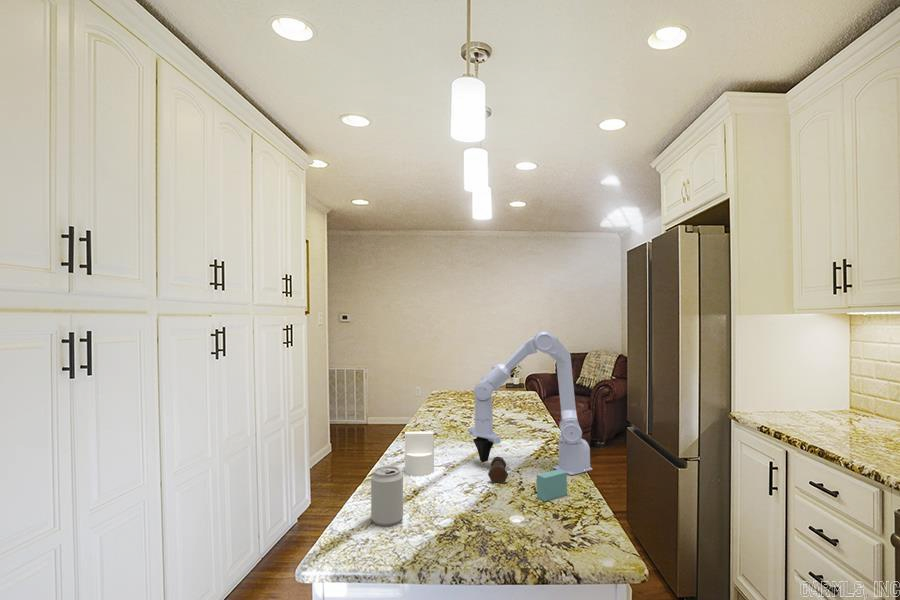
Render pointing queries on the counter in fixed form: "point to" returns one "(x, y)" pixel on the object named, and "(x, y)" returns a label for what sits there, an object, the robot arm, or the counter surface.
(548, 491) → the teal rectangular block
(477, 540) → the counter surface
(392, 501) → the can
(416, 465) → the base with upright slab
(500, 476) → the bolt
